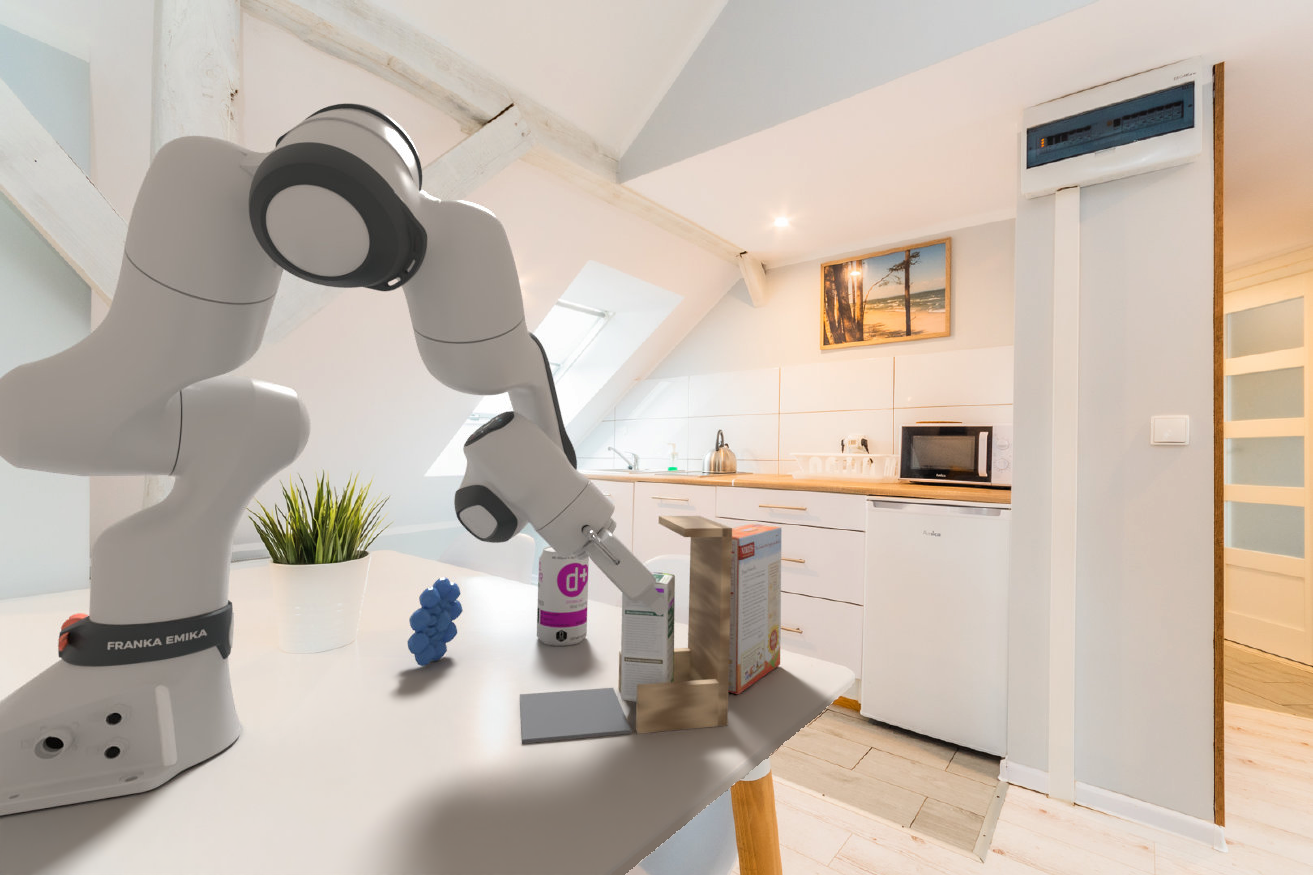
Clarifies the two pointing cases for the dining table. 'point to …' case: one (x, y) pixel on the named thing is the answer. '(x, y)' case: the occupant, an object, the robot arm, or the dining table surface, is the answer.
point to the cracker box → (754, 604)
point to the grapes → (434, 621)
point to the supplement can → (562, 598)
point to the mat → (571, 715)
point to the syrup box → (647, 640)
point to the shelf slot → (696, 638)
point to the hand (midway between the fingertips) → (654, 600)
